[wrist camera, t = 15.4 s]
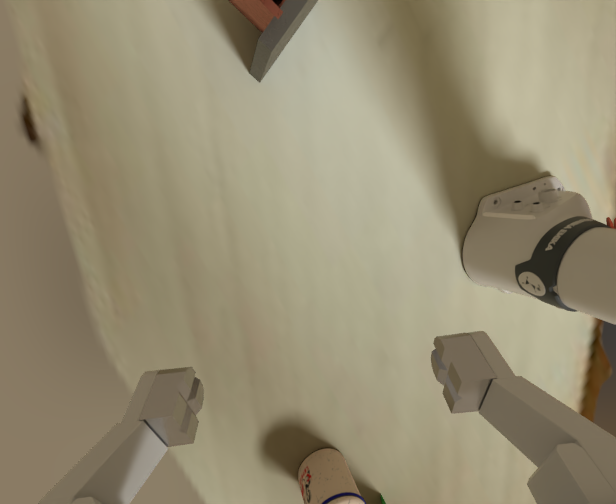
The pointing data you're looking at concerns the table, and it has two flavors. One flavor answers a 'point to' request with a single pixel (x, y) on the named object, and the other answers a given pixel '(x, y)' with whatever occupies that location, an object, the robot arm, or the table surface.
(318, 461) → the teacup with lid
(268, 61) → the drawer
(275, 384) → the table surface
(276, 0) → the brown cylinder
